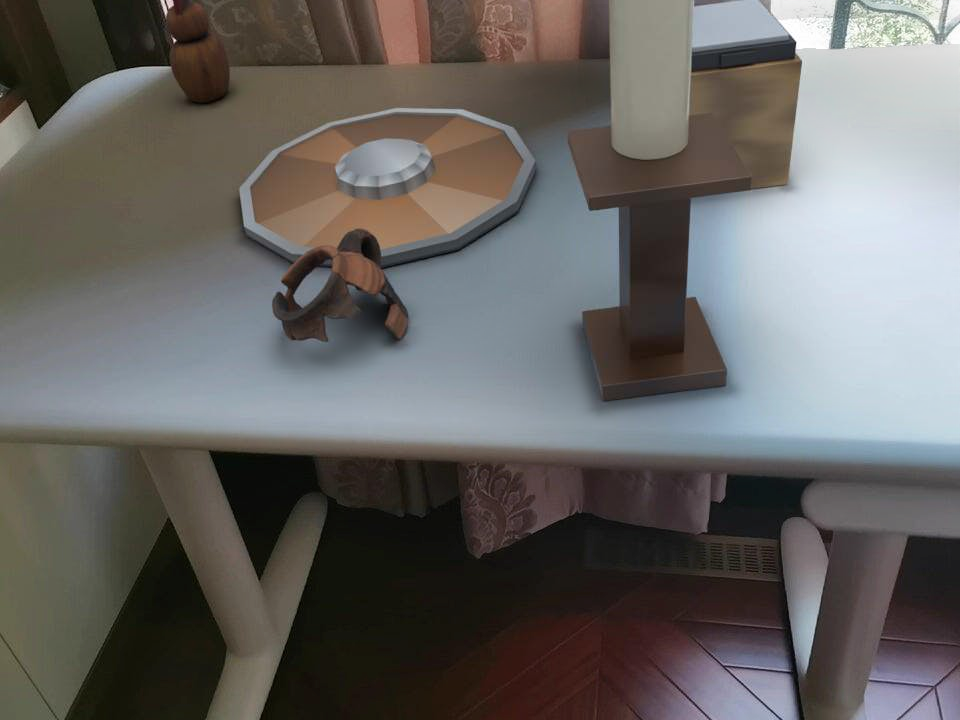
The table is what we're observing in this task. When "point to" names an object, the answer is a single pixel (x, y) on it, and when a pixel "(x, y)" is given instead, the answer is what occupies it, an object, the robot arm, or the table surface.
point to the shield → (389, 184)
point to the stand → (654, 260)
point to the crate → (753, 113)
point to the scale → (738, 36)
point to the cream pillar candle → (650, 76)
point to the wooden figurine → (196, 53)
